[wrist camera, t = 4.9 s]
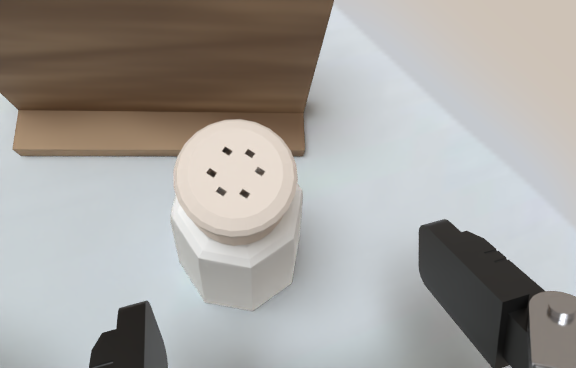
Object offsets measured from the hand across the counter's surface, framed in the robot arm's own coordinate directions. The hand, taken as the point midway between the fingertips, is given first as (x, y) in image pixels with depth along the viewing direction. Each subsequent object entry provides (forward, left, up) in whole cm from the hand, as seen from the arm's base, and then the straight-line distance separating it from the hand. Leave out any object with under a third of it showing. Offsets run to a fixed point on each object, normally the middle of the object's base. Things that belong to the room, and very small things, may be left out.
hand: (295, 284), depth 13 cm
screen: (+9, +5, -7) cm, 13 cm away
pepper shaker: (+2, +2, -8) cm, 8 cm away
